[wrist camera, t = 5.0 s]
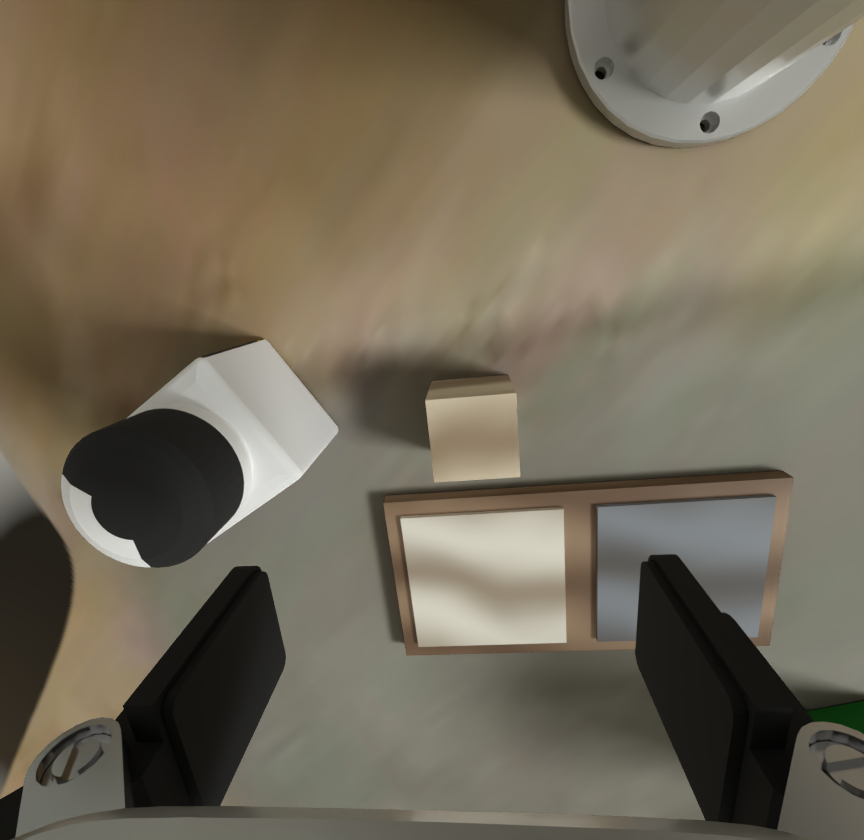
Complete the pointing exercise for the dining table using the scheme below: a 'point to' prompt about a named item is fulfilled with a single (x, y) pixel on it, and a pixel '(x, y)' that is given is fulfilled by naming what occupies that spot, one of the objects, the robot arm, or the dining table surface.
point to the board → (579, 559)
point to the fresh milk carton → (842, 715)
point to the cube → (473, 428)
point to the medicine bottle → (194, 457)
